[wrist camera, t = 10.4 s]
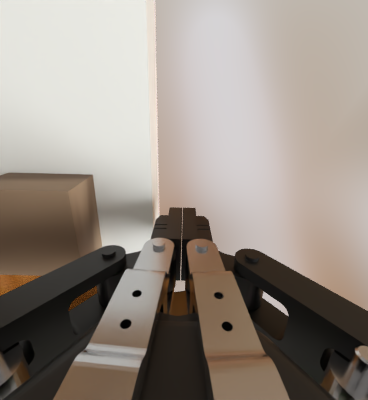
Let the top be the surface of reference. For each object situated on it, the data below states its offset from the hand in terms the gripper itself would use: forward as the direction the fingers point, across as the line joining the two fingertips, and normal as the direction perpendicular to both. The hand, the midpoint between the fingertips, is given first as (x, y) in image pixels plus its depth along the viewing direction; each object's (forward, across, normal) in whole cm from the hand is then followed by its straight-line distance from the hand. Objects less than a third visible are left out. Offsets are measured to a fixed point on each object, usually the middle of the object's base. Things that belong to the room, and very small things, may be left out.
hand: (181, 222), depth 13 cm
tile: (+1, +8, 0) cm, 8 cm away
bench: (+4, +8, -4) cm, 10 cm away
